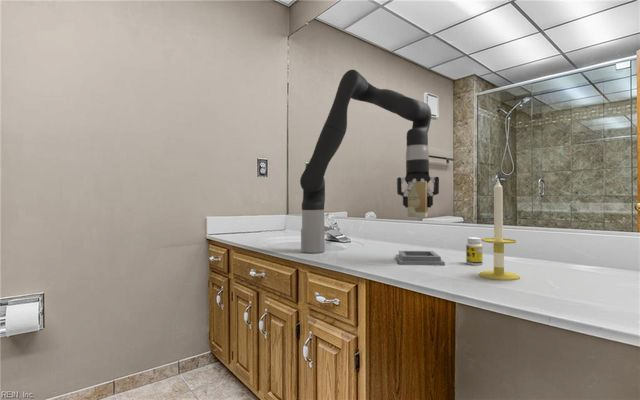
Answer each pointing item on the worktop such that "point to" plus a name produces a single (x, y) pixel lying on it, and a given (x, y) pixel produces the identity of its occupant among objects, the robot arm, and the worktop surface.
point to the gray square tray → (419, 258)
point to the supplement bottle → (474, 251)
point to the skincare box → (418, 200)
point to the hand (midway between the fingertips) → (417, 207)
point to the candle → (498, 240)
